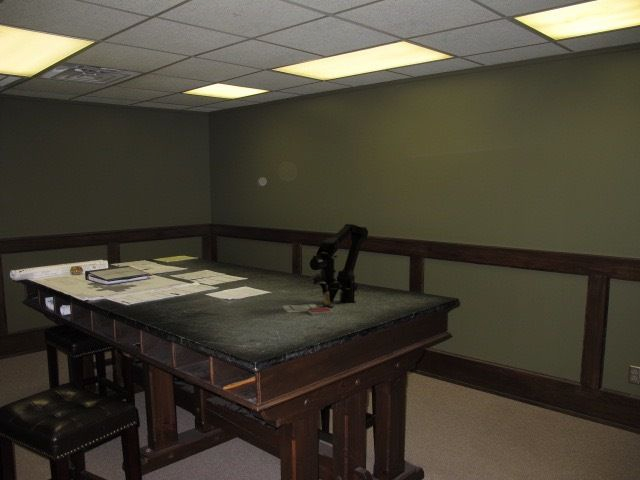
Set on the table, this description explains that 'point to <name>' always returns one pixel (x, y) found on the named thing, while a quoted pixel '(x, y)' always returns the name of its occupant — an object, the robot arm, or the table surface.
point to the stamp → (327, 301)
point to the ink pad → (319, 311)
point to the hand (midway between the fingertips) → (328, 299)
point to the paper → (299, 307)
